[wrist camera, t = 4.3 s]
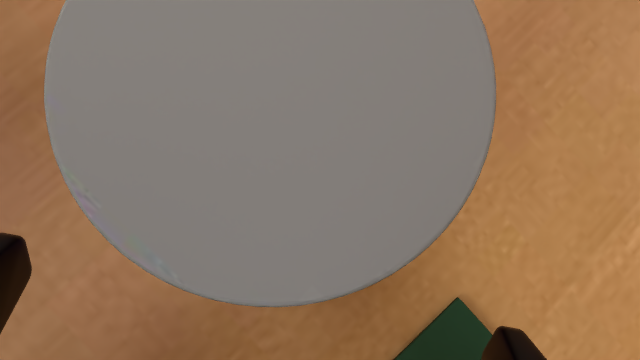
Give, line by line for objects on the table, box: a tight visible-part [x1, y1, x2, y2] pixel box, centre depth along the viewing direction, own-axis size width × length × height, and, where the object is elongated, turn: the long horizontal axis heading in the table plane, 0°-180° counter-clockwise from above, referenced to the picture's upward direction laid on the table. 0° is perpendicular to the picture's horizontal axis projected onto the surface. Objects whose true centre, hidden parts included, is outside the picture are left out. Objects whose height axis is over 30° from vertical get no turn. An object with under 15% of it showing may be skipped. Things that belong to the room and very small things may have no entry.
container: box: [44, 0, 496, 307], centre depth 12 cm, size 5×5×15 cm
